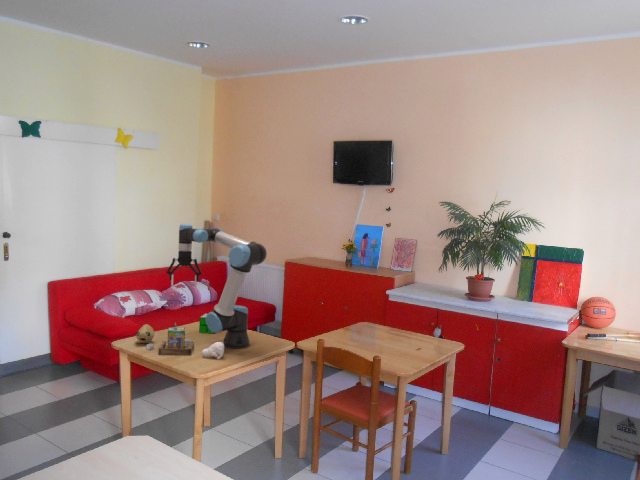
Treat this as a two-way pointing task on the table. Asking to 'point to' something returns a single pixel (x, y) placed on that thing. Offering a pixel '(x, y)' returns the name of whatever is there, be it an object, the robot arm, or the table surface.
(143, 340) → the tan toy creature
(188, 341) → the grey clip
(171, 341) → the chalk box
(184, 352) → the brown tray holder
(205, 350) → the white lumpy piece
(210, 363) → the table surface
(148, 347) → the grey clip
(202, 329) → the puzzle cube
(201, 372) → the table surface
